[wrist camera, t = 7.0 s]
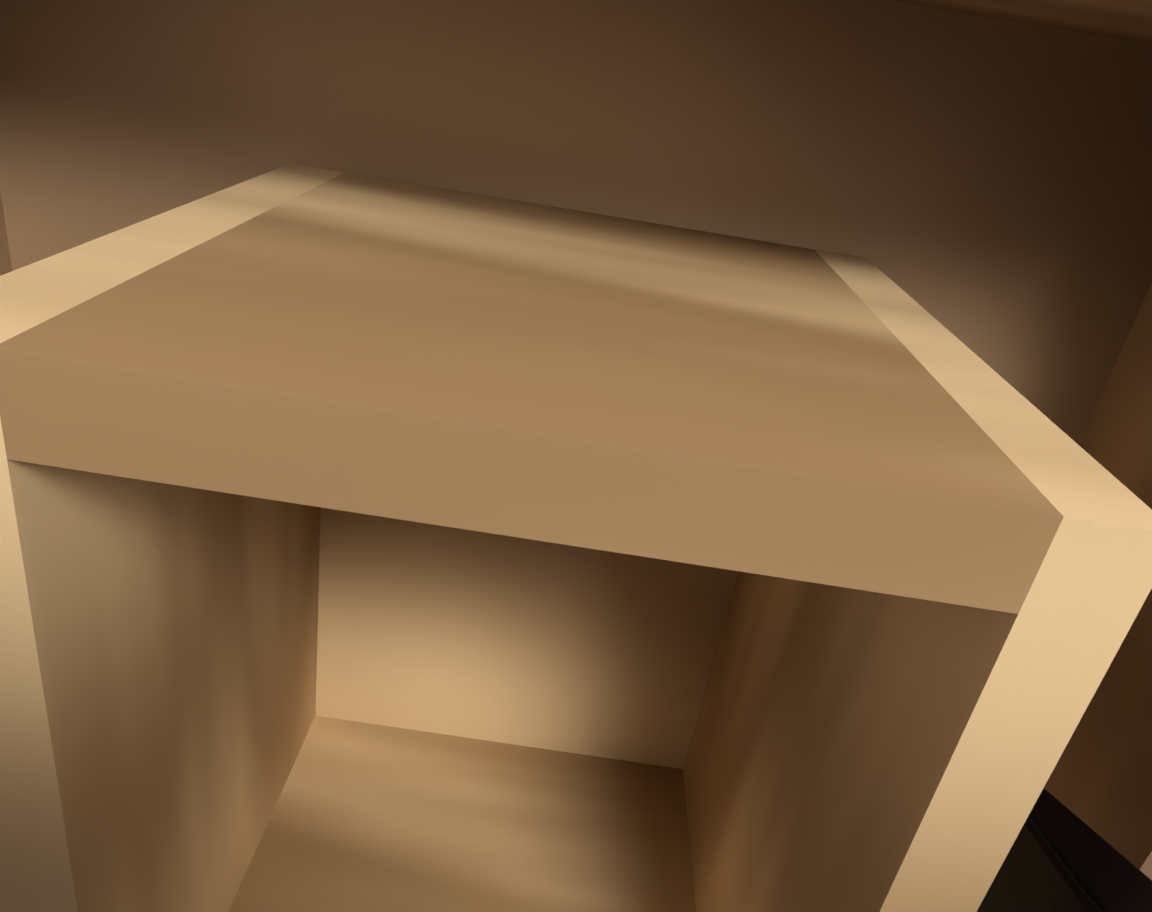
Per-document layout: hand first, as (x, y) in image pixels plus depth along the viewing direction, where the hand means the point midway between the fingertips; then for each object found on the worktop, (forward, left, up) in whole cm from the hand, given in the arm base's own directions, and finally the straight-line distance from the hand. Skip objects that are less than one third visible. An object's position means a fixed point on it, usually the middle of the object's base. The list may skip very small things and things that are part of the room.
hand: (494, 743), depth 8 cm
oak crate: (0, 0, -4) cm, 4 cm away
